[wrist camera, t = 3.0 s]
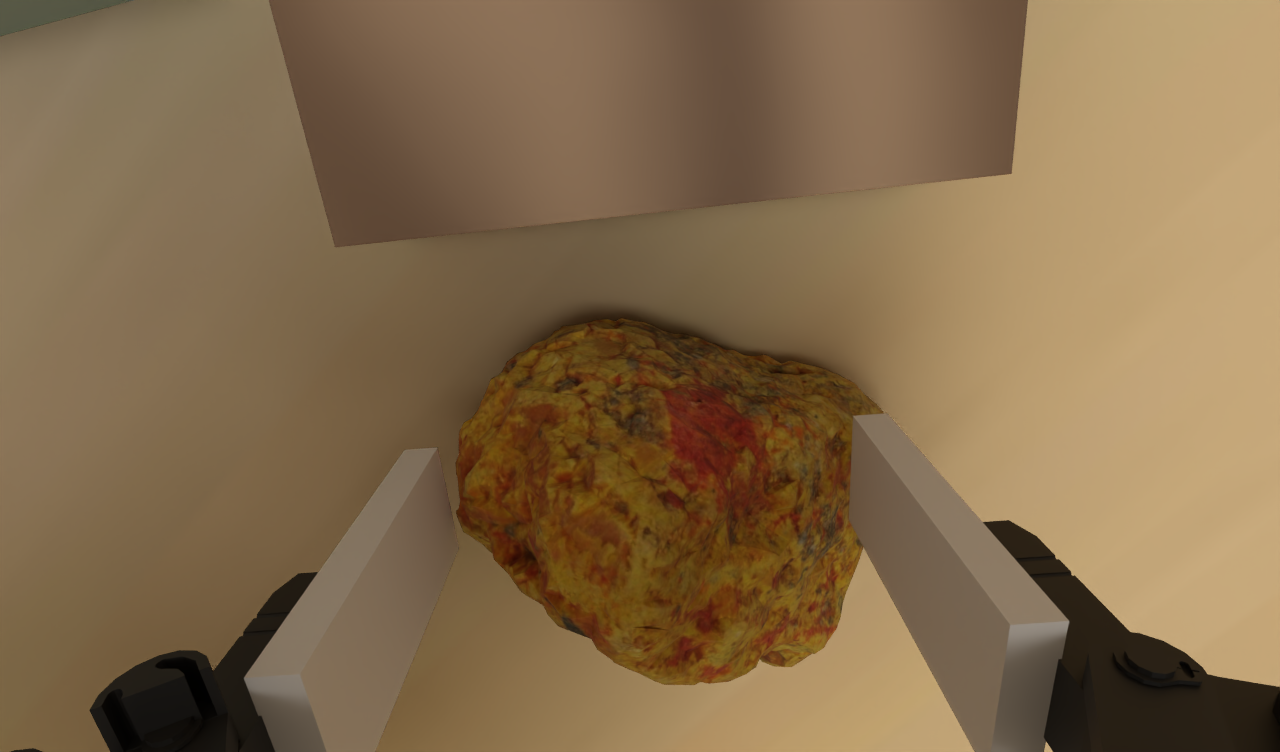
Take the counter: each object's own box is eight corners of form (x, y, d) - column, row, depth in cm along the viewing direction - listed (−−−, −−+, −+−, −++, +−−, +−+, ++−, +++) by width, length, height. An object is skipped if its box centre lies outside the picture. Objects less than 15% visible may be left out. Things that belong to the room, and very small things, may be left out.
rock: (718, 259, 22) (994, 442, 18) (638, 443, 26) (843, 628, 22) (420, 298, 14) (795, 659, 9) (374, 556, 18) (616, 890, 14)
